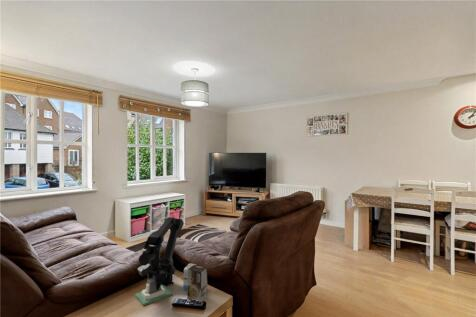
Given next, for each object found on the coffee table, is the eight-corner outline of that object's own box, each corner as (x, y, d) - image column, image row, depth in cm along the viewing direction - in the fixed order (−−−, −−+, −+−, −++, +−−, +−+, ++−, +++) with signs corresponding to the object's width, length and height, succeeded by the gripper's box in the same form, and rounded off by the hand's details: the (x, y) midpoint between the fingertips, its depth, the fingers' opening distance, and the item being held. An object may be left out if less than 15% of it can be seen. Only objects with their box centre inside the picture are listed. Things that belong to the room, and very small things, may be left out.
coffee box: (207, 297, 132) (208, 267, 133) (201, 303, 127) (201, 272, 127) (193, 293, 136) (194, 264, 136) (186, 298, 130) (187, 268, 131)
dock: (163, 286, 143) (163, 281, 143) (172, 295, 134) (172, 289, 134) (135, 295, 132) (135, 290, 132) (143, 305, 123) (143, 300, 123)
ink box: (190, 290, 138) (191, 270, 139) (182, 289, 139) (183, 269, 140) (196, 283, 147) (196, 263, 147) (188, 282, 148) (189, 263, 148)
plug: (157, 290, 137) (158, 275, 137) (160, 293, 134) (161, 278, 134) (145, 294, 132) (145, 279, 132) (147, 297, 129) (148, 282, 129)
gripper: (133, 256, 135) (133, 284, 135) (146, 267, 121) (145, 299, 121) (153, 251, 142) (152, 278, 142) (167, 261, 128) (166, 291, 128)
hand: (154, 286), depth 133 cm, fingers open, 9 cm apart
